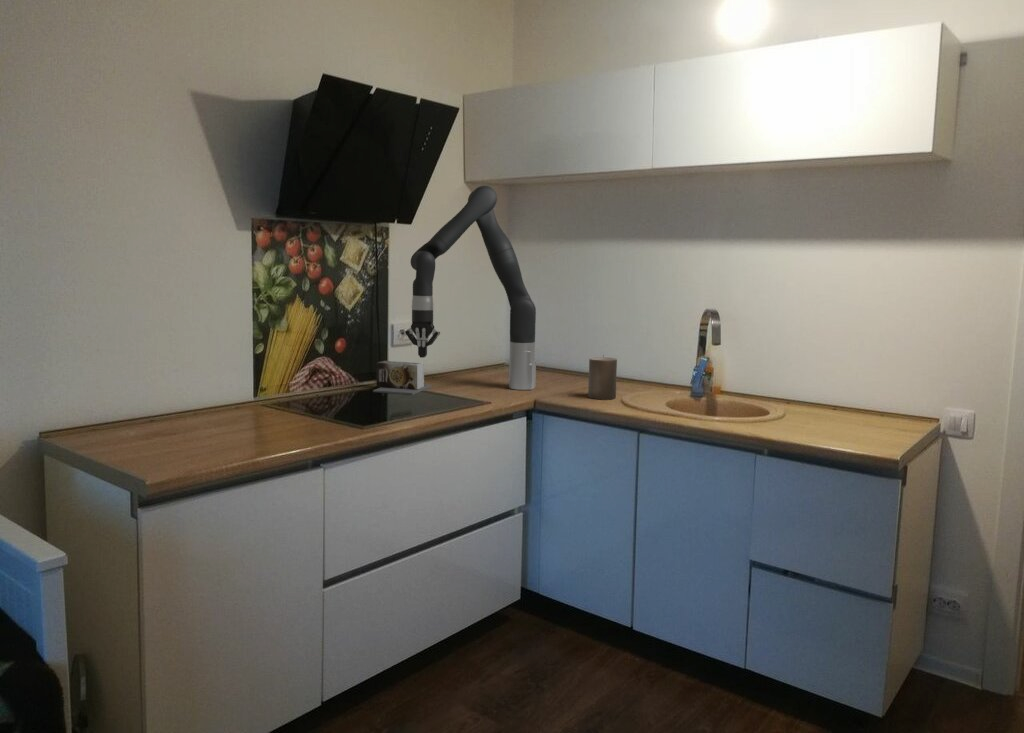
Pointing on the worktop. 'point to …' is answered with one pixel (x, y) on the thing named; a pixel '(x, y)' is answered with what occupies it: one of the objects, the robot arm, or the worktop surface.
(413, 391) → the mat
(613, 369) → the pillar candle
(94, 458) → the worktop surface
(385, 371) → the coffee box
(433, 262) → the robot arm
